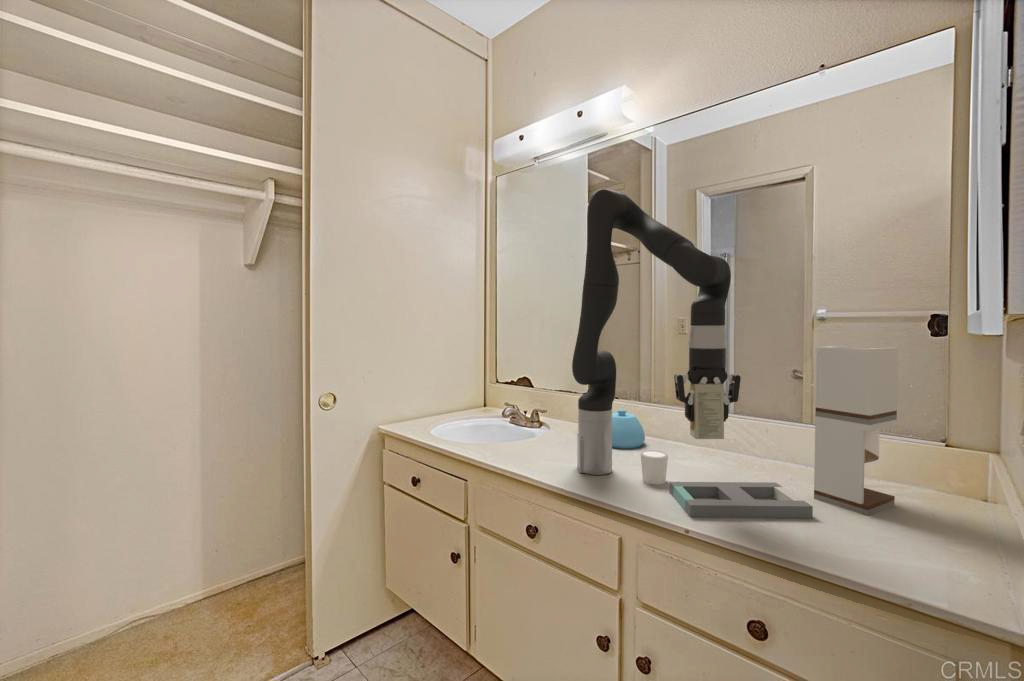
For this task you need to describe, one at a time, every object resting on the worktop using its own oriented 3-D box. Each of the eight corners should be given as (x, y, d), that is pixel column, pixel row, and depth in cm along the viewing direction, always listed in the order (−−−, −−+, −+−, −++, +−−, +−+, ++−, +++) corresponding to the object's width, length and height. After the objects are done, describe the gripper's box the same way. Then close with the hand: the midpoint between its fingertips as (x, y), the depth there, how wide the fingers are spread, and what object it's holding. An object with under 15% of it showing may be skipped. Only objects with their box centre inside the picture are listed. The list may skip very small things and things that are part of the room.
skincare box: (717, 435, 102) (718, 381, 102) (724, 440, 98) (725, 384, 97) (688, 434, 103) (689, 381, 102) (694, 439, 99) (694, 383, 98)
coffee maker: (867, 515, 94) (871, 349, 93) (813, 498, 104) (816, 347, 102) (894, 505, 100) (898, 347, 98) (841, 489, 109) (844, 345, 108)
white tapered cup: (669, 478, 118) (669, 451, 118) (666, 486, 112) (666, 459, 111) (642, 474, 121) (642, 448, 121) (638, 482, 115) (638, 455, 114)
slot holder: (690, 517, 94) (690, 505, 94) (669, 492, 108) (669, 481, 108) (812, 518, 93) (812, 506, 93) (775, 492, 107) (775, 482, 107)
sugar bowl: (591, 444, 151) (591, 410, 151) (612, 435, 163) (612, 404, 162) (632, 452, 142) (632, 416, 141) (652, 442, 153) (652, 409, 153)
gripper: (680, 347, 96) (679, 424, 97) (748, 346, 96) (747, 424, 96) (669, 345, 104) (668, 417, 104) (732, 345, 103) (731, 417, 104)
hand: (706, 420), depth 100 cm, fingers closed on skincare box, 6 cm apart
